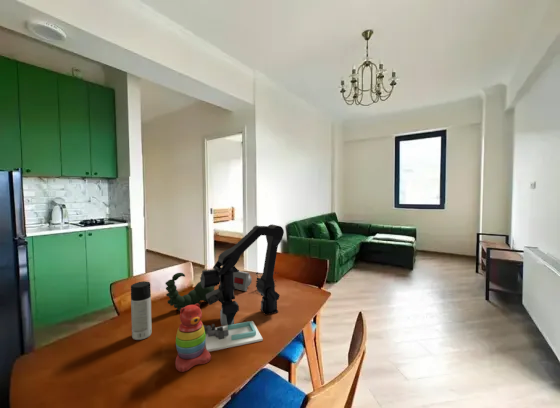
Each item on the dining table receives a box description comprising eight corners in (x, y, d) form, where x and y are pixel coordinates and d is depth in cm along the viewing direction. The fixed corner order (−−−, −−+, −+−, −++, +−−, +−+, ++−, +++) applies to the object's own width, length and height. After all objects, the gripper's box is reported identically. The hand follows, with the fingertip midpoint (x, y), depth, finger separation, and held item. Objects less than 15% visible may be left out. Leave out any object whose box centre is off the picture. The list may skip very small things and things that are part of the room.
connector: (232, 319, 114) (232, 307, 114) (234, 323, 110) (234, 311, 110) (220, 321, 112) (220, 309, 112) (221, 326, 109) (221, 313, 108)
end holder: (250, 324, 108) (250, 321, 108) (256, 335, 100) (256, 331, 100) (227, 328, 105) (227, 325, 105) (231, 340, 97) (231, 336, 97)
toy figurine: (174, 321, 116) (224, 300, 132) (169, 279, 113) (221, 263, 130) (166, 313, 122) (215, 294, 139) (161, 274, 120) (211, 259, 137)
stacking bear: (178, 374, 80) (177, 316, 79) (170, 357, 88) (169, 304, 87) (213, 360, 86) (212, 307, 85) (202, 345, 95) (201, 296, 94)
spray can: (155, 332, 103) (154, 282, 102) (141, 342, 97) (140, 288, 95) (142, 329, 105) (141, 280, 104) (127, 338, 99) (126, 285, 98)
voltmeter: (230, 292, 143) (230, 274, 143) (231, 285, 155) (231, 268, 154) (279, 291, 146) (279, 273, 146) (277, 283, 157) (277, 267, 157)
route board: (252, 322, 111) (252, 315, 111) (262, 340, 98) (262, 332, 98) (203, 331, 104) (203, 323, 104) (206, 352, 91) (206, 343, 91)
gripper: (204, 278, 116) (205, 313, 117) (209, 294, 99) (209, 335, 100) (230, 275, 120) (230, 309, 121) (239, 290, 103) (239, 329, 104)
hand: (227, 319), depth 111 cm, fingers open, 9 cm apart
